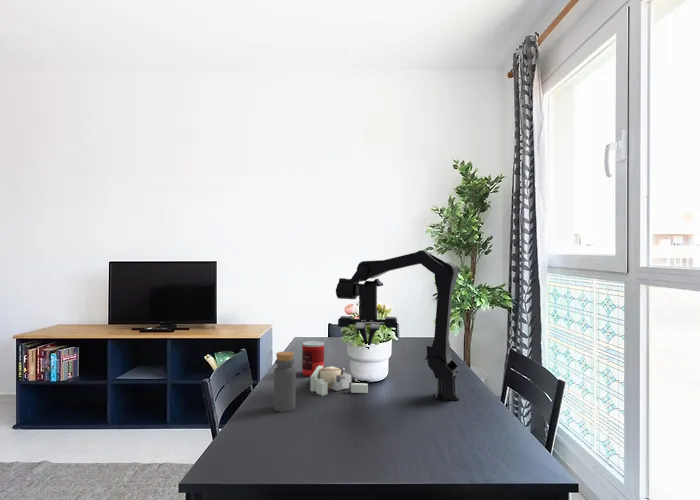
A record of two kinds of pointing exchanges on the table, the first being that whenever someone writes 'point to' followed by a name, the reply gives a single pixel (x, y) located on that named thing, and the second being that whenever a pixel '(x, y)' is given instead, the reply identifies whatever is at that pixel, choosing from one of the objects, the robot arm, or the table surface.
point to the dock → (322, 386)
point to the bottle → (284, 382)
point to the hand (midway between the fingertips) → (367, 348)
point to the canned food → (312, 356)
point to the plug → (329, 375)
